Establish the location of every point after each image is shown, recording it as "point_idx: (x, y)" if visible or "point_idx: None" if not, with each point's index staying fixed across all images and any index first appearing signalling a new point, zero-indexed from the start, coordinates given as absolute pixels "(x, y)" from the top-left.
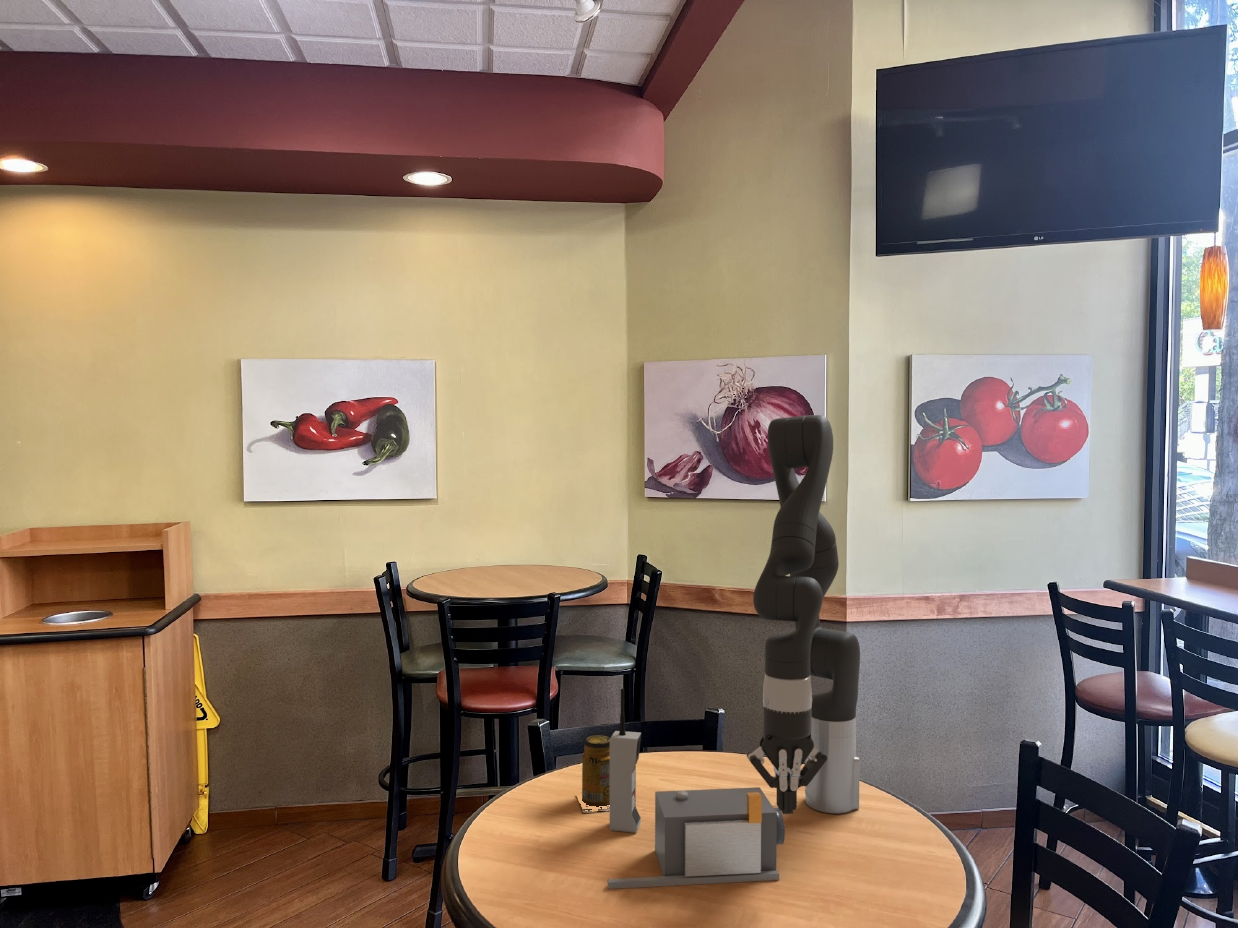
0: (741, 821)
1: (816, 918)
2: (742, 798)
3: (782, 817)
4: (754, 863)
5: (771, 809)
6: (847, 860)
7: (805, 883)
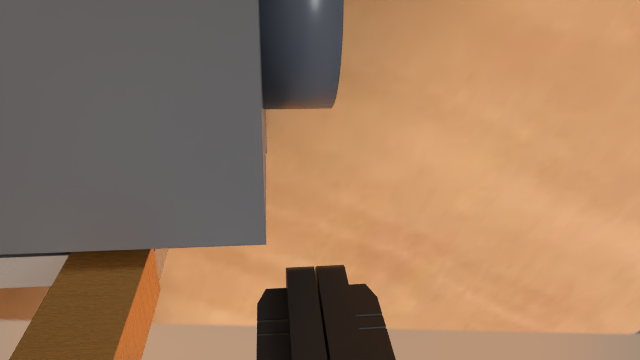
0: (41, 269)
1: None
2: (47, 7)
3: (335, 91)
4: None
5: (243, 204)
6: (571, 30)
7: (348, 170)
